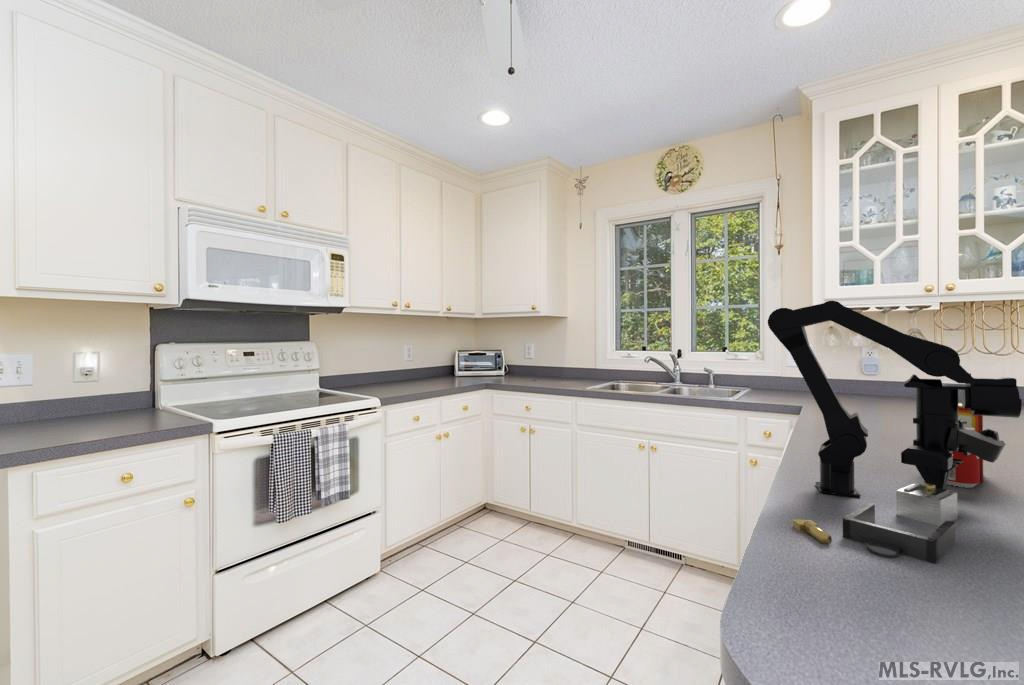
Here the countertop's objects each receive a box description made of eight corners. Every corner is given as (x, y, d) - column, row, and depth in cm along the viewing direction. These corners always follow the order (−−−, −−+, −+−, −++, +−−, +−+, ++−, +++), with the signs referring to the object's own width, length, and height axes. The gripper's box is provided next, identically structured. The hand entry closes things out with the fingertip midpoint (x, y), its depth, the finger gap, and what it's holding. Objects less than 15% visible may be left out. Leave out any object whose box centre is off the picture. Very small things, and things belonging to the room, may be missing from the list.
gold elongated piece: (793, 526, 77) (792, 517, 77) (810, 527, 77) (810, 517, 77) (816, 544, 71) (816, 534, 71) (836, 544, 71) (835, 534, 70)
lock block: (913, 508, 85) (913, 478, 85) (957, 518, 80) (957, 486, 80) (896, 515, 82) (896, 484, 82) (940, 527, 77) (940, 494, 77)
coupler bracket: (867, 520, 80) (867, 502, 80) (955, 542, 71) (955, 522, 71) (834, 542, 71) (834, 522, 71) (929, 570, 62) (929, 548, 62)
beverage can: (988, 488, 95) (988, 429, 94) (957, 489, 95) (956, 430, 95) (959, 479, 101) (959, 424, 101) (929, 479, 101) (929, 424, 101)
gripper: (989, 425, 73) (990, 524, 74) (1009, 412, 85) (1009, 498, 85) (899, 416, 82) (900, 504, 82) (928, 406, 93) (929, 483, 94)
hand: (937, 497), depth 86 cm, fingers closed
